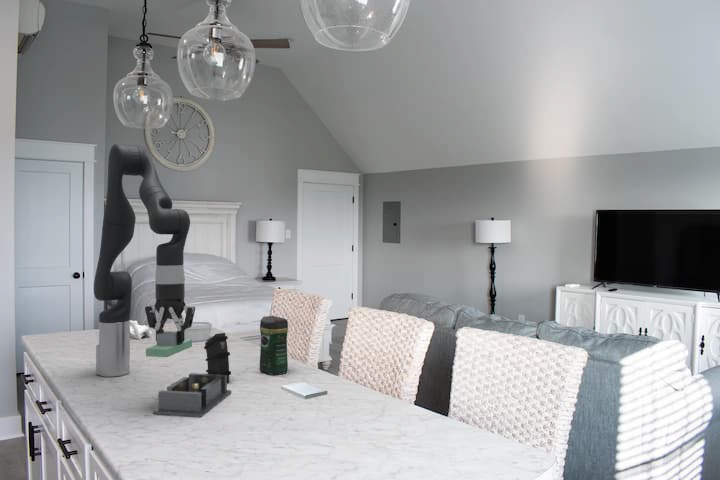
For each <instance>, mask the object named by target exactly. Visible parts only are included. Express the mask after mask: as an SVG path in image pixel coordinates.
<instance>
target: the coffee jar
mask: <svg viewBox="0 0 720 480" xmlns="http://www.w3.org/2000/svg"><path fill="white" fill-rule="evenodd" d="M259 331H260V353H259V354H260V355H259V371H260V372H262V373H265V374H267V375H283V374H284V373H286V372H288V366H289V365H288V362H289V359H288V331H289V321H288V320H287V319H286V318H285V317H280V316H274V315H268V316H263V317H261V319H260V323H259Z"/></svg>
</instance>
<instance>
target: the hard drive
mask: <svg viewBox="0 0 720 480" xmlns="http://www.w3.org/2000/svg"><path fill="white" fill-rule="evenodd" d="M280 390H281V391H284V392H286V393H288V394H291V395H294V396H296V397H298V398H301V399H302V400H307V399H312V398H317V397H321V396H325V395H328V394H329V392H328V391H327V390H325V389H324V388H320V387H318V386H315V385H312V384H310V383H307V382H305V381H299V382H293V383H289V384H285V385H284V384H283V385H281V386H280Z"/></svg>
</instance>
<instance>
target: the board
mask: <svg viewBox="0 0 720 480" xmlns="http://www.w3.org/2000/svg"><path fill="white" fill-rule="evenodd" d="M192 347H193V342H192V340H190V339H185V340H184V342H183V343H182V344H180V345H177V330H176V331H174V330H173V331H171V330H169V331H168V330H166V331H165V330H164V332H162V333H159V334H157V342H156V345H153V346H150V347H146V348H145V357H150V358H151V357H153V358H155V357H157V358H170V357H171V356H174V355H175V354H178V353H180V352H183V351H186V350H188V349H190V348H192Z"/></svg>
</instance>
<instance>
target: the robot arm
mask: <svg viewBox="0 0 720 480" xmlns="http://www.w3.org/2000/svg"><path fill="white" fill-rule="evenodd" d="M107 163H108V164H107V189H106V199H105V207H104V213H103V221H102V229H101V240H100V248H99V255H98V261H97V264H96V271H95V275H94V280H93V295H94V298H95V299H96V300H97V301H101V302H104V301H116V303H115V304H114V305H112V306H111V307H109V308H107V309H105V310H103V311H101V312H99V315H98V344H97V345H96V346H95V358H96V359H95V372H96V373H95V375H96V376H97V375H98V376H100V377H108V378H111V377H120V376H121V377H122V376H125V375H128V374H129V373H130V372H131V370H130V369H131V353H130V352H131V336H130V320H131V312H132V311H131V310H132V294H133V293H132V292H133V291H132V290H133V281H132V280H133V279H132V276H131V274H130V273H129V271H124V270H123V271H121V270H119V271H112V268H113V265H114V263H115V261H116V260H117V258H118V257H119V256H120V254H121V253H122V252H123V251H124V250H125V248H127V247H128V245H129V244H130V243H131V241H132V239H133V237H134V234H135V226H136V219H137V218H136V213H135V211H134V209H133V206H132V205H131V203H130V201H129V200H128V198H127V195H126V194H125V192H124V191H125V190H124V188H123V176H132V177H133V176H134V177H136V176H137V177H138V176H140V177H141V178H142V181H141V183H140V185H139V190H138V195H139V198H140V200H141V202H142V204H143V205H144V207H145V209H146V212H147V215H148V225H149V229H150V230H151V231H152V232H154V233H155V234H157V235H172V237H171V239H170V241H167V242H163V243H160V244H158V245H157V247H156V257H155V258H156V259H155V260H156V263H155V264H156V269H155V277H154V278H155V303H154V305H147V306H145V307H144V309H145V314H146V320H147V324H148V328H149V329H154V330H155V341H156V342H155V343H157V334H159V333H162V332H165V329H164V327H165V324H166V322H167V321H168V320H172V321H173V324H175V326H176V332H177V345H180V344H182V343H183V342H184V340H185V339H184V331H185V329H187V328H190V327H191V326H192V322H193V321H194V317H195V311H196V306H190V305H187V304H186V303H185V298H186V297H185V296H186V294H185V290H186V289H185V279H186V277H185V268H184V267H185V266H184V251H185V246H186V242H187V237H188V234H189V231H190V226H191V218H190V215H189V213H188V212H187V211H186V210H185V209H183V208H182V209H181V208H173V201H172V199H171V197H170V196H169V194H168V193H167V190H166V189H165V188H164V186H163V185H162V183H161V180H160V179H159V175H158V172H157V169H156V166H155V164H154V161H153V159H152V156H151V154H150V152H149V151H148V148H146V147H144V146H141V145H137V144H135V145H134V144H123V143H115V144H114V143H113V145H112V146H111V147H110V150H109V155H108V162H107ZM156 312H157V313H158V316H157V317H156ZM183 313H184V314H185V317H184V316H183Z"/></svg>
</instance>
